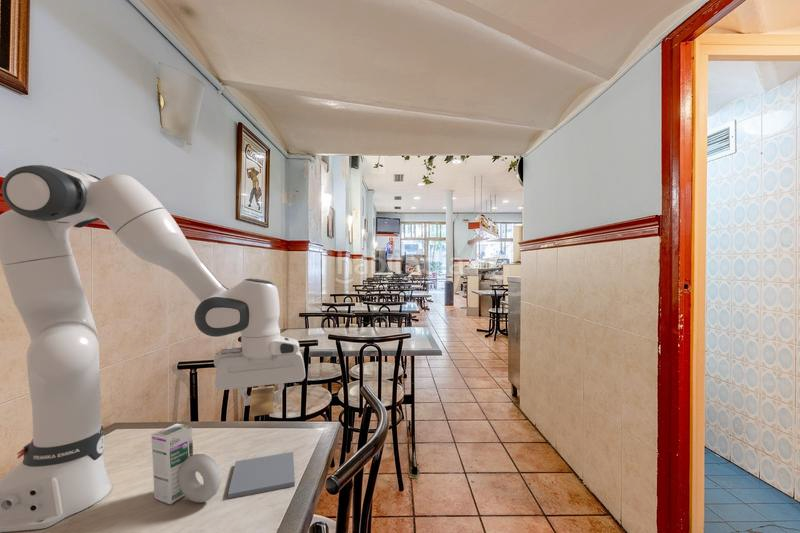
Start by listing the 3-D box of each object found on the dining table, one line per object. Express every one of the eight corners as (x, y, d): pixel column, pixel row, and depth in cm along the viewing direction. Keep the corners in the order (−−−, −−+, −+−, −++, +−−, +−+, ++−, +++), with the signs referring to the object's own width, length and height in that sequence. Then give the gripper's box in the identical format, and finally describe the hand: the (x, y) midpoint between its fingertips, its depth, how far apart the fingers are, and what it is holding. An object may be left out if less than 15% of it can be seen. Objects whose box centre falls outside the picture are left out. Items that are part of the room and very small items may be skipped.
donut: (224, 499, 80) (224, 454, 80) (213, 510, 76) (212, 462, 76) (187, 492, 82) (186, 447, 82) (174, 501, 79) (173, 455, 79)
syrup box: (170, 505, 78) (167, 437, 78) (153, 498, 80) (150, 432, 80) (195, 490, 83) (193, 426, 83) (178, 484, 85) (176, 422, 85)
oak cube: (250, 416, 85) (250, 395, 85) (252, 408, 90) (252, 388, 90) (273, 413, 87) (273, 392, 87) (274, 405, 92) (273, 385, 92)
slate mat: (228, 498, 80) (227, 494, 80) (235, 465, 93) (235, 461, 93) (294, 486, 84) (294, 481, 84) (293, 455, 98) (293, 451, 98)
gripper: (211, 352, 82) (212, 414, 82) (305, 345, 88) (306, 402, 89) (216, 346, 88) (217, 404, 88) (303, 339, 94) (304, 393, 95)
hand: (262, 403), depth 89 cm, fingers closed on oak cube, 5 cm apart
